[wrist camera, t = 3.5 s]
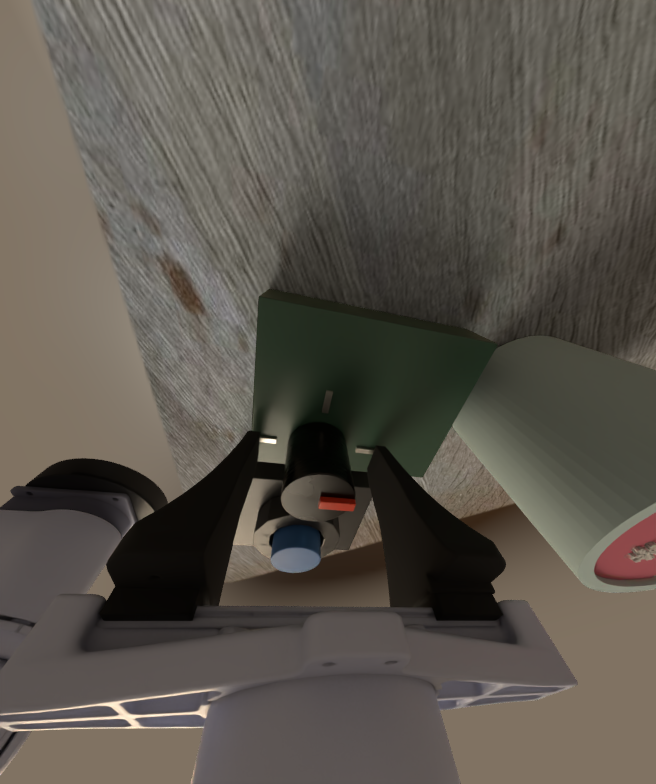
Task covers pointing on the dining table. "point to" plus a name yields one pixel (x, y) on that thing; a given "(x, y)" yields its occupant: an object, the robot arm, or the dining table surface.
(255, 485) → the button block
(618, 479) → the mug
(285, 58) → the dining table surface
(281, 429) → the panel
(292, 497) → the knob
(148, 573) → the robot arm
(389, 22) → the dining table surface
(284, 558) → the plunger
